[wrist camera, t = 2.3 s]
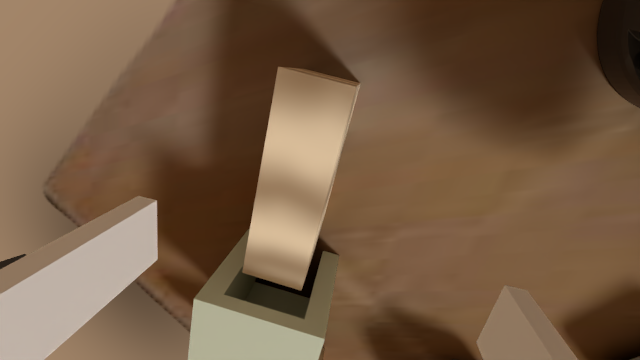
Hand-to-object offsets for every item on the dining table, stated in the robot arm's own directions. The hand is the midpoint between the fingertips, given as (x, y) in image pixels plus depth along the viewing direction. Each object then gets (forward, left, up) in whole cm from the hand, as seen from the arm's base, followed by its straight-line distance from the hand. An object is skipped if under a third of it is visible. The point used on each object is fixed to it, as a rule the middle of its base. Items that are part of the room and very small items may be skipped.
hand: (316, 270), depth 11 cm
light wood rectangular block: (+2, -3, -18) cm, 18 cm away
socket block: (+16, -3, -18) cm, 24 cm away
